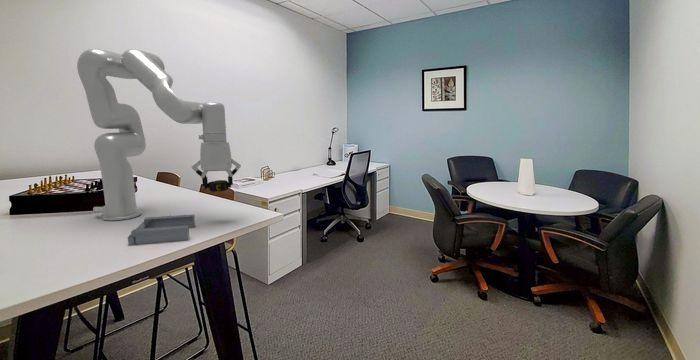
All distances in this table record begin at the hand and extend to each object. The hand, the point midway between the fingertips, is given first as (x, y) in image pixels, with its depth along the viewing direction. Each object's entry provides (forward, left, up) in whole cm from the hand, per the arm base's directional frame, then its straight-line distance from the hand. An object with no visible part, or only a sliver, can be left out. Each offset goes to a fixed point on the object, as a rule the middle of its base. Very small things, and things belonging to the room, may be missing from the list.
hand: (218, 187), depth 117 cm
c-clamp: (-16, -9, -13) cm, 22 cm away
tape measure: (0, -1, -2) cm, 2 cm away
